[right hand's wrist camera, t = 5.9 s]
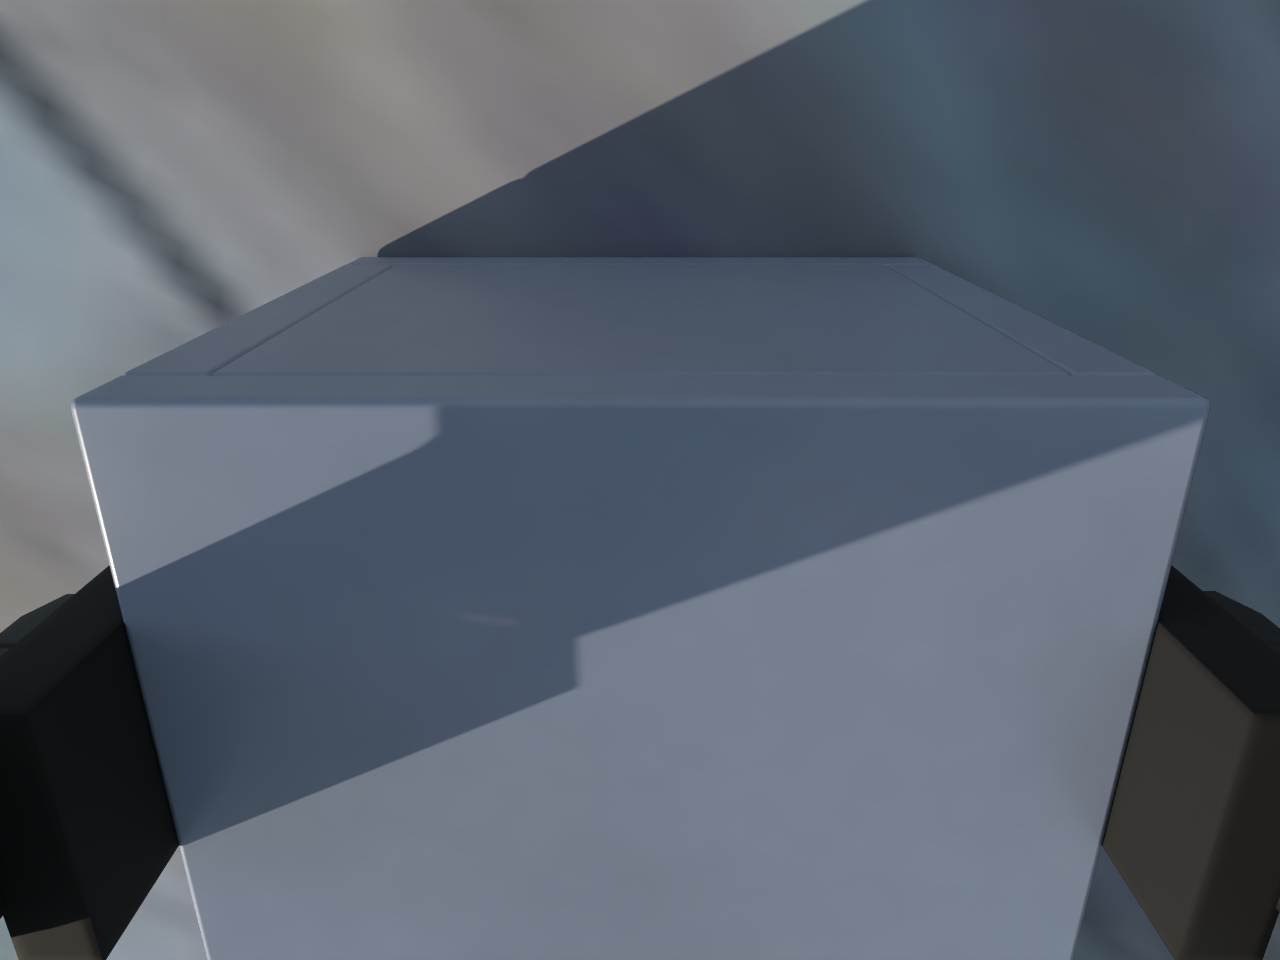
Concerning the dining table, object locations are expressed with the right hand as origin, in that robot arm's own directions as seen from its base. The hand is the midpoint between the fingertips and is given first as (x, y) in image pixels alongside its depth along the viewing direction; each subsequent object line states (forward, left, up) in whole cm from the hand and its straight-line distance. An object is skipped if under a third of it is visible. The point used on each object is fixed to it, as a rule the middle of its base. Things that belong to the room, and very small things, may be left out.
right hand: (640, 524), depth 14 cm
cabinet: (+6, +3, -3) cm, 7 cm away
